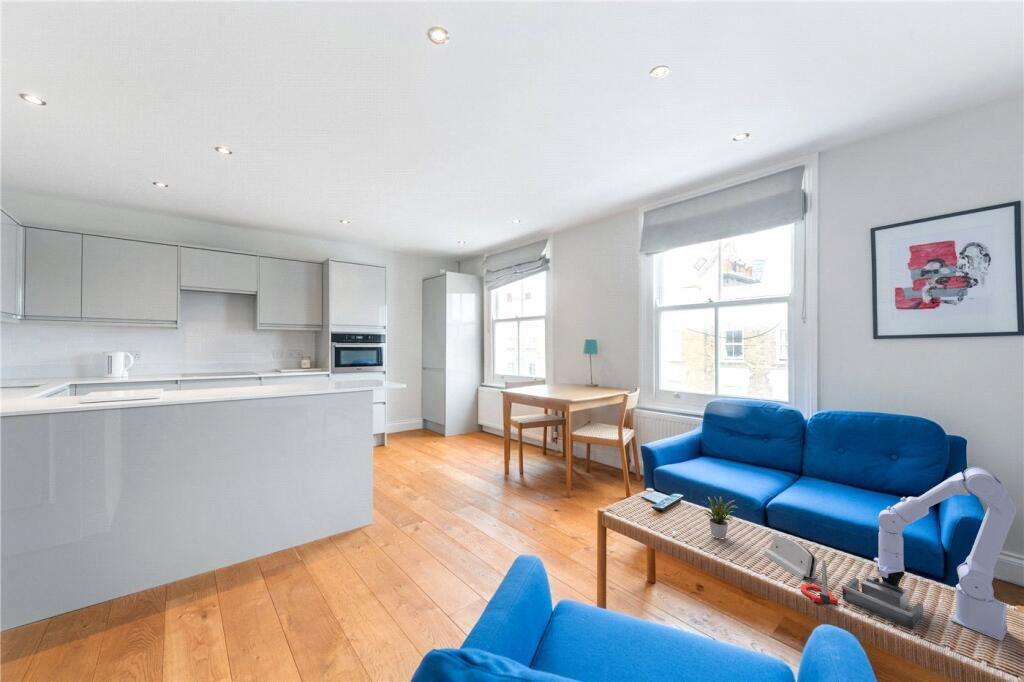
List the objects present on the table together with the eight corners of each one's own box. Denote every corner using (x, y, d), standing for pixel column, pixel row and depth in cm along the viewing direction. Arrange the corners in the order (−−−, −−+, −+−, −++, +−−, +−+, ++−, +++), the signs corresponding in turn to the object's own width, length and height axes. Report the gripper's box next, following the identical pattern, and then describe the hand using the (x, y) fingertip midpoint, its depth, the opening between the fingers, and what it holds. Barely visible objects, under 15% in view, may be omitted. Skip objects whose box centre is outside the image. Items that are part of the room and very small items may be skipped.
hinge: (763, 555, 153) (771, 529, 154) (773, 558, 154) (781, 532, 155) (802, 580, 137) (810, 551, 137) (813, 583, 137) (822, 555, 138)
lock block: (907, 606, 123) (907, 588, 123) (900, 615, 119) (900, 595, 119) (869, 591, 131) (869, 574, 131) (861, 598, 127) (861, 580, 127)
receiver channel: (923, 616, 119) (922, 601, 119) (911, 629, 113) (911, 614, 113) (854, 588, 132) (854, 575, 132) (841, 599, 127) (841, 585, 127)
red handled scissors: (795, 586, 134) (811, 603, 125) (794, 546, 135) (810, 560, 125) (823, 589, 133) (841, 606, 123) (822, 549, 133) (840, 562, 124)
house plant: (747, 538, 166) (747, 498, 166) (733, 549, 157) (733, 507, 157) (711, 526, 177) (711, 488, 177) (697, 535, 168) (697, 496, 168)
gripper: (882, 538, 135) (882, 579, 135) (866, 550, 127) (866, 593, 127) (911, 547, 129) (911, 590, 129) (896, 560, 121) (896, 606, 121)
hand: (890, 593), depth 128 cm, fingers closed
